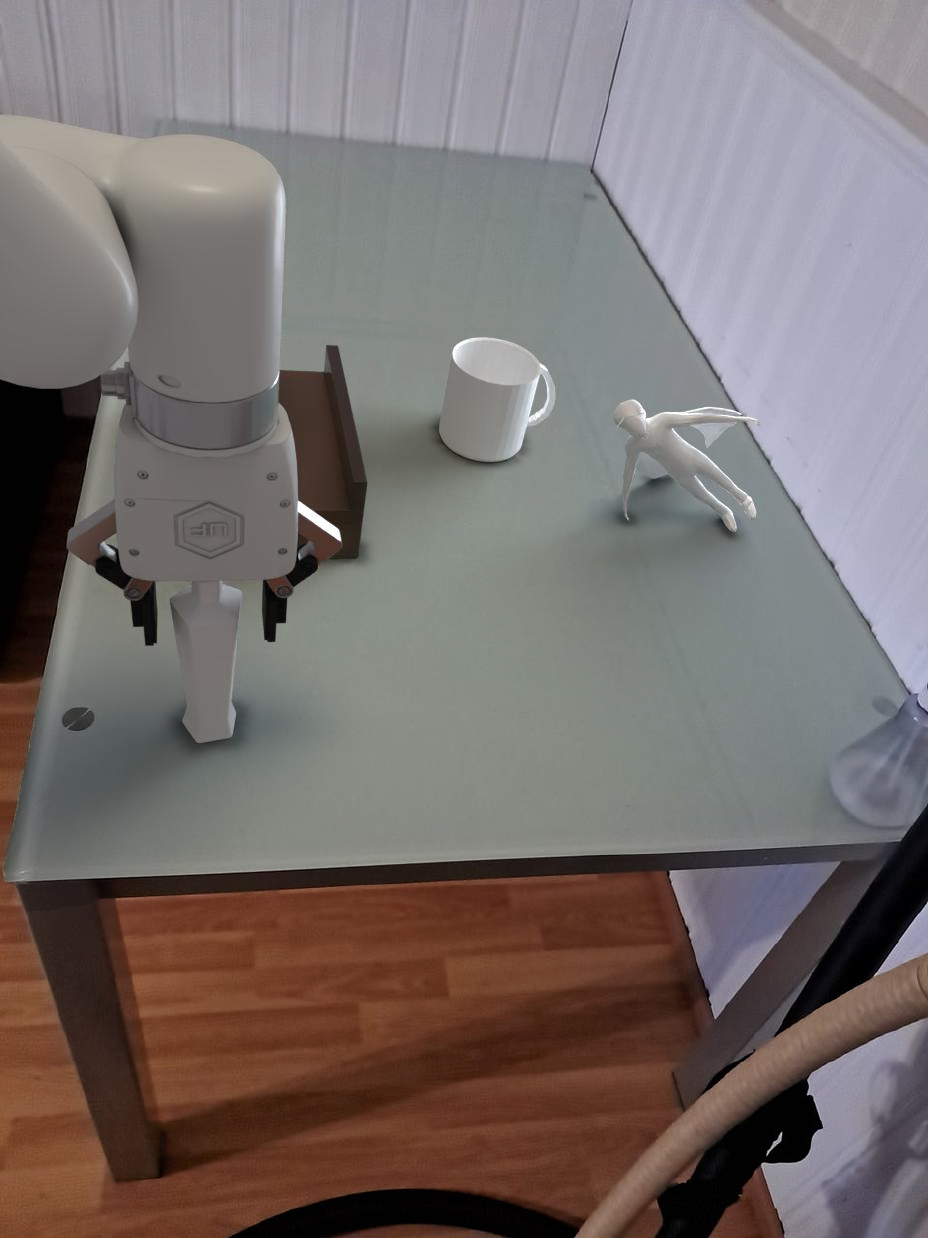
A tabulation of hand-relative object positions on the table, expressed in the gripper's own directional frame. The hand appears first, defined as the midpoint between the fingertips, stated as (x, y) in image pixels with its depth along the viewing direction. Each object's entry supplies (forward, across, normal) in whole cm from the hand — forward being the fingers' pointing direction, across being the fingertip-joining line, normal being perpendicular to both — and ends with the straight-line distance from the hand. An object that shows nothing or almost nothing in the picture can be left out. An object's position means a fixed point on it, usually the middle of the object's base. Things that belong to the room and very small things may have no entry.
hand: (210, 627), depth 63 cm
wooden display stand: (+10, +5, +29) cm, 31 cm away
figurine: (+10, +45, +26) cm, 53 cm away
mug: (+10, +30, +37) cm, 49 cm away
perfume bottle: (+10, 0, 0) cm, 10 cm away
